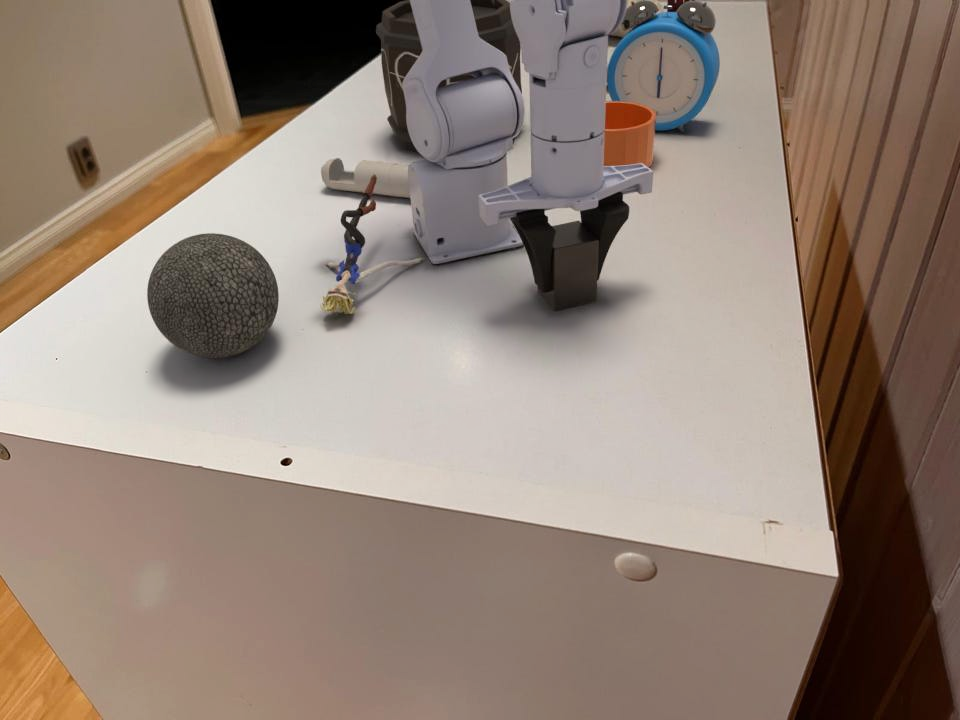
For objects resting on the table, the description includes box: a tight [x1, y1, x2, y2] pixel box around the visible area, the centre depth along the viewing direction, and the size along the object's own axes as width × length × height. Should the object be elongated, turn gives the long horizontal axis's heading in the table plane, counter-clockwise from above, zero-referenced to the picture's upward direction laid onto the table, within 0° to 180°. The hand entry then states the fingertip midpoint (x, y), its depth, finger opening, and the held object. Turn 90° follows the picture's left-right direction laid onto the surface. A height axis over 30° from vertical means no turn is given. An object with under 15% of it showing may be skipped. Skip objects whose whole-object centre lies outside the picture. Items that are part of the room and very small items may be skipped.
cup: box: [603, 100, 656, 168], centre depth 91 cm, size 10×10×6 cm
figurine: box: [301, 174, 425, 331], centre depth 72 cm, size 10×9×20 cm
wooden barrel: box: [375, 0, 523, 153], centre depth 98 cm, size 18×18×16 cm
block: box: [537, 220, 599, 312], centre depth 67 cm, size 4×4×6 cm
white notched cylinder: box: [320, 157, 410, 199], centre depth 87 cm, size 18×5×7 cm, turn 69°
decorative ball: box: [146, 232, 280, 359], centre depth 62 cm, size 10×10×10 cm
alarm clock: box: [606, 0, 721, 133], centre depth 97 cm, size 13×6×15 cm, turn 69°
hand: (566, 281), depth 68 cm, fingers closed on block, 4 cm apart
